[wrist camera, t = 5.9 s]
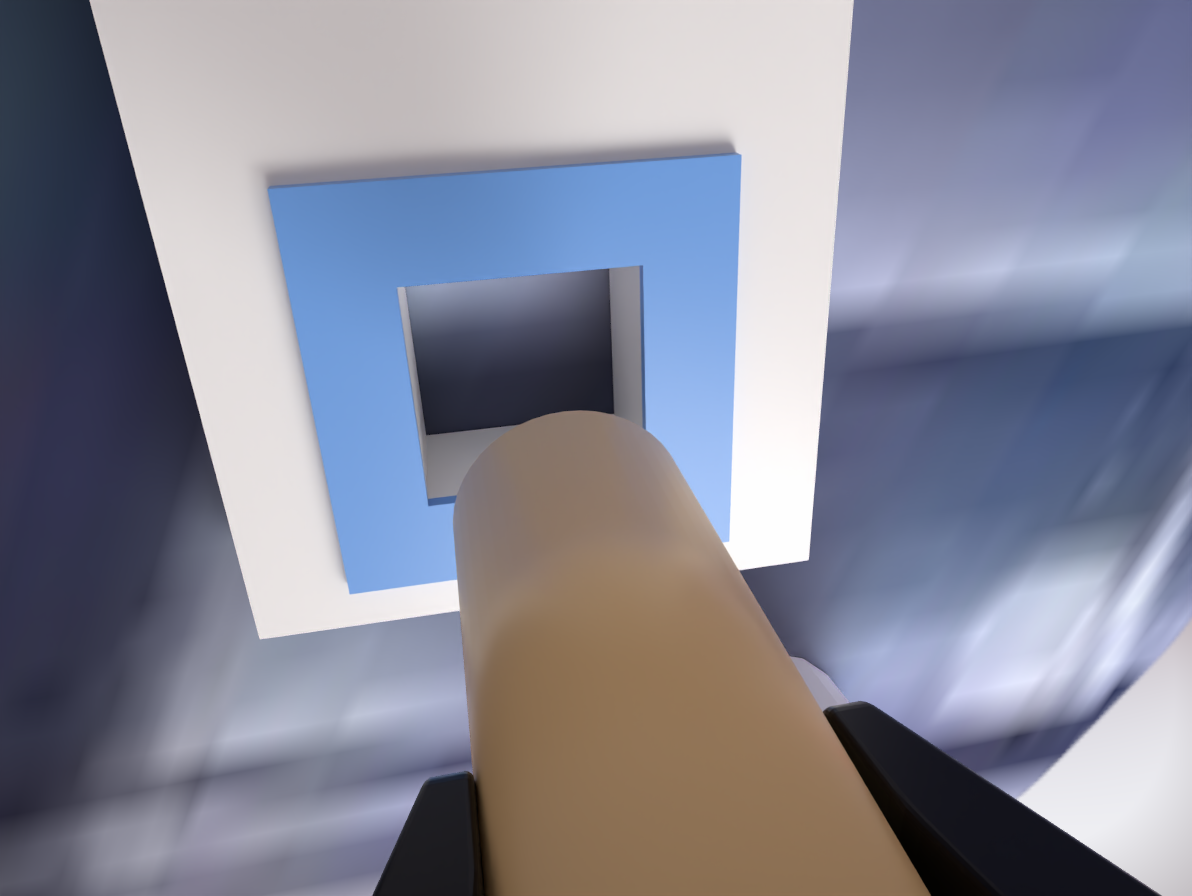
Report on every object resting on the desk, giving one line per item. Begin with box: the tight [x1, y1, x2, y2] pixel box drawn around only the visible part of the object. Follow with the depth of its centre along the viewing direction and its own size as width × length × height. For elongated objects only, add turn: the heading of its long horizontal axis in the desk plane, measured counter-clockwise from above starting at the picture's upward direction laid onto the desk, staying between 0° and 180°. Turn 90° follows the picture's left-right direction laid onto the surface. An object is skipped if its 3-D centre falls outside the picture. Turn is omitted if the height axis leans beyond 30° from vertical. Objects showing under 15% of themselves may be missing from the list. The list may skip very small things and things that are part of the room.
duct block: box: [89, 0, 854, 639], centre depth 15 cm, size 12×22×3 cm, turn 2°
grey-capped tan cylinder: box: [453, 410, 931, 896], centre depth 8 cm, size 3×3×9 cm
